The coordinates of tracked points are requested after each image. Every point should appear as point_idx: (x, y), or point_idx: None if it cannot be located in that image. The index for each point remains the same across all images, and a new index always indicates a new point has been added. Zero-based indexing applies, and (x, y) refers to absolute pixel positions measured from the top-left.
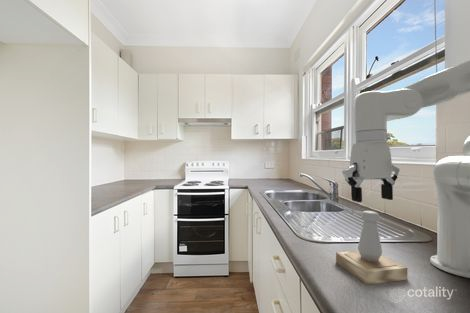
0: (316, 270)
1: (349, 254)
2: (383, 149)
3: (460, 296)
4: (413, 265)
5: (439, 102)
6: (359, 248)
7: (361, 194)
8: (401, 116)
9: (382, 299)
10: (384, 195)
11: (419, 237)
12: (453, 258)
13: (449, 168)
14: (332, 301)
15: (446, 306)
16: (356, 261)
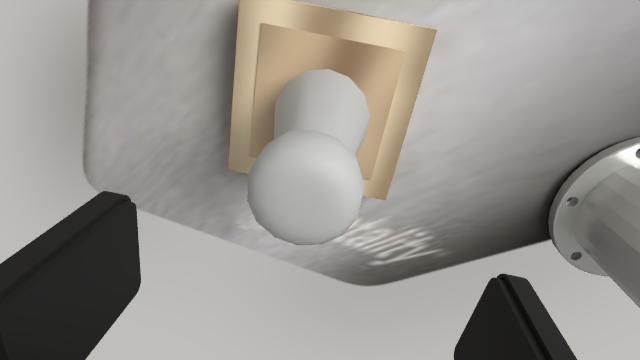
0: (133, 18)
1: (278, 41)
2: None
3: (413, 270)
4: (518, 133)
5: None
6: (275, 103)
7: (83, 351)
8: None
9: (222, 210)
10: (488, 331)
11: None
12: (596, 240)
13: None
14: (95, 171)
15: (336, 273)
16: (253, 103)
